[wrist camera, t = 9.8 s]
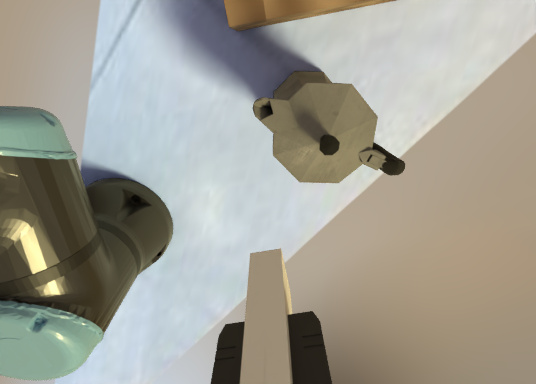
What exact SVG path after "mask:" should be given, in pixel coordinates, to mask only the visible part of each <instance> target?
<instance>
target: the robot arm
mask: <svg viewBox="0 0 536 384" xmlns="http://www.w3.org/2000/svg"><path fill="white" fill-rule="evenodd" d="M76 158H77V155H76V153H75V152H74V151H73V150H72V148H71V146H70V143H69V141H68V139H67V136H66V134H65V131H64V129H63V126H62V124H61V122H60V121H59V120H58V118H57V117H56V116H54V115H53V114H52V113H50V112H48V111H45V110H43V109H39V108H33V107H9V106H0V375H2V376H6V377H11V378H17V379H24V380H49V379H55V378H60V377H63V376H66V375H68V374H70V373H72V372H74V371H75V370H77V369H78V368H79V367H80V366H81V365H82V364H83V363H84V362H85V361H86V360H87V358H88V357H89V355H90V354H91V352H92V351H93V350H94V348H95V347H96V345H97V344H98V343H99V342H101V340H102V339H103V335H104V333H105V331H106V329H107V327H108V326H109V324H110V322H111V320H112V319H113V317H114V315H115V313H116V312H117V310H118V308H119V306H120V305H121V303H122V301H123V299H124V298H125V296H126V294H127V293H128V291H129V289H130V287H131V286H132V284H133V282H134V280H135V279H136V277H137V275H138V274H140V273H141V272H142V271H144V270H145V269H146V268H148V267H149V266H150V265H152V264H153V263H154V262H156V261H157V260H158V259H159V258H160V257H161V256H162V255H163V254H164V252H165V251H166V249H167V247H168V245H169V243H170V241H171V238H172V235H173V222H172V218H171V215H170V212H169V210H168V209H167V207H166V205H165V204H164V203H163V201H162V200H161V199H160V198H159V197H158V196H157V195H156V194H155V193H154V192H152V191H151V190H150V189H148V188H146V187H145V186H143V185H141V184H139V183H136V182H134V181H130V180H126V179H120V178H108V179H102V180H99V181H96V182H94V183H92V184H90V185H88V186H87V187H86V188H85V185H84V182H83V179H82V176H81V173H80V170H79V167H78V164H77V160H76ZM211 384H332V381H331V376H330V371H329V366H328V361H327V355H326V350H325V345H324V341H323V335H322V330H321V325H320V321H319V319H318V318H317V317H316V315H315V314H314V313H313V312H312V311H310V312H303V313H297V314H292V307H291V296H290V288H289V284H288V279H287V274H286V270H285V265H284V260H283V255H282V251H281V249H275V250H269V251H263V252H256V253H250V264H249V277H248V289H247V301H246V314H245V322H239V323H232V324H226V325H225V327H224V328H223V330H222V332H221V333H220V335H219V338H218V344H217V351H216V356H215V362H214V367H213V373H212V379H211Z"/></svg>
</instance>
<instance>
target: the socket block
mask: <svg viewBox="0 0 536 384" xmlns="http://www.w3.org/2000/svg"><path fill="white" fill-rule="evenodd" d="M390 1H395V0H224V4H225V9H226V14H227V19H228V24H229V27H230V28H232V29H234V30H236V31H241V30H246V29H251V28H256V27H261V26H267V25H272V24H277V23H282V22H287V21H292V20H297V19H303V18H308V17H313V16H318V15H323V14H328V13H334V12H339V11H344V10H349V9H354V8H359V7H365V6H370V5H375V4H380V3H385V2H390Z"/></svg>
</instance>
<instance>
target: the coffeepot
mask: <svg viewBox="0 0 536 384" xmlns="http://www.w3.org/2000/svg"><path fill="white" fill-rule="evenodd" d="M253 111H254V114H255V117H257V118H258V119H259V120H260V121H261V122H262V123H263V124H264V125H265V126H266V127H267V128H269V129H270V130H271V131H272V132H273V133H274V134H273V156H274V157H275V158H276V159H277V160H278V161H279V162H280V163H281V164H282V165H283V166H284V167H285V168H286V169H287V170H288V171H289V172H290V173H291V174H292V175H293V176H294V177H295V178H296V179H297V180H298V181H299V182H313V183H339V182H341V181H342V180H343V179H344V178H346V177H347V176H348V175H349V174H351V173H352V172H353V171H354V170H356V169H357V168H358V167H359V166H361V165H362V164H364V165H366V166H369V167H371V168H373V169H375V170H378V169H380V170H382V171H383V172H384V173H386V174H388V175H399V174H401V173H402V172H403V171H404V169H405V163H404V161H402V160H400V159H399V158H397V157H396V156H394V155H392V154H391V153H389V152H388V151H386V150H385V149H384V148H382V147H381V146H379V145H378V144H376V143H374V142H373V141H374V135H375V130H376V124H377V118H378V117H377V115H376V114H375V113H374V112H373V110H372V109H371V108H370V106H369V105H368V104H367V103H366V101H365V100H364V99H363V98H362V96H361V95H360V94H359V93H358V91H357V90H356V89H355V88H354V86H353V85H352V84H341V83H332V82H331V81H330V80H329V78H328V77H327V76H326V75H325V74H324V72H304V71H294V72H293V73H292V74H291V75H290V76H289V77H288V78H287V79H286V80H285V81H284V82H283V83H282V84H281V85H280V86H279V87H278V88H277V89H276V90H275V91H274V99H272V98H264V97H263V98H260V99H257V100H256V101H255V102H254V105H253Z"/></svg>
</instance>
